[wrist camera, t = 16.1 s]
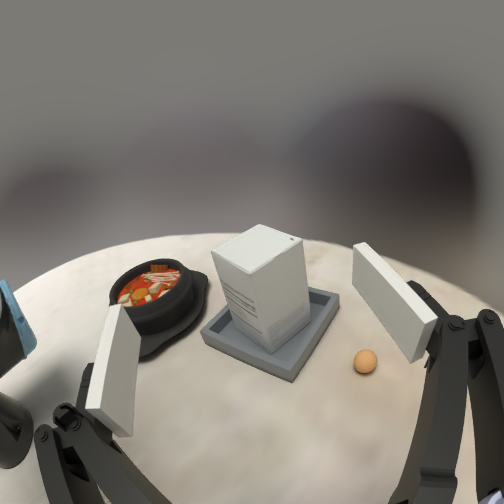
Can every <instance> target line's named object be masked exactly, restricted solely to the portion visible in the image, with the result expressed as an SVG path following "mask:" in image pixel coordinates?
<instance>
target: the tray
mask: <svg viewBox="0 0 504 504" xmlns="http://www.w3.org/2000/svg"><path fill="white" fill-rule="evenodd" d="M308 293H309V303H310V313H311V322H309V323H308V324H307V325H306V326H305V327H304V328H303V329H301V330H300V331H299V332H298V333H297V334H295V335H294V336H293V337H292V338H291V339H289V340H288V341H287V342H286V343H285V344H283V345H282V346H281V347H280V348H278V349H277V350H276V351H275V352H274V353H272V354H269V353H268V352H266V351H265V350H264V349H262V348H261V347H260V346H259V345H257V344H256V343H255V342H253V341H252V340H251V339H249V338H248V337H247V336H245V335H244V334H243V333H242V332H240V331H239V330H238V329H237V328H236V327H235V325H234V321H233V318H232V316H231V313H230V309H229V307H228V304H227V305H226V306H225V307H224V308H223V309H222V310H221V311H220V312H219V313H218V314H217V315H216V316H215V317H214V318H213V319H212V320H211V321H210V322H209V323H208V324H207V325H206V326H205V327H204V328H203V329H202V330H201V331H200V333H201V335H202V337H203V340H204V342H205V344H207V345H209V346H211V347H213V348H215V349H217V350H219V351H221V352H223V353H225V354H227V355H229V356H231V357H233V358H236V359H238V360H240V361H242V362H244V363H246V364H249V365H251V366H253V367H255V368H257V369H260V370H262V371H264V372H267V373H269V374H271V375H274V376H276V377H278V378H281V379H283V380H286V381H288V382H291V383H293V381H294V380H295V378H296V377H297V375H298V374H299V372H300V371H301V369H302V368H303V366H304V365H305V363H306V362H307V360H308V359H309V357H310V356H311V354H312V352H313V351H314V349H315V348H316V346H317V344H318V343H319V341H320V340H321V338H322V336H323V335H324V333H325V331H326V330H327V328H328V326H329V325H330V323H331V321H332V320H333V318H334V316H335V315H336V313H337V311H338V309H339V294H336V293H332V292H328V291H323V290H319V289H315V288H311V287H308Z"/></svg>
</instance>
